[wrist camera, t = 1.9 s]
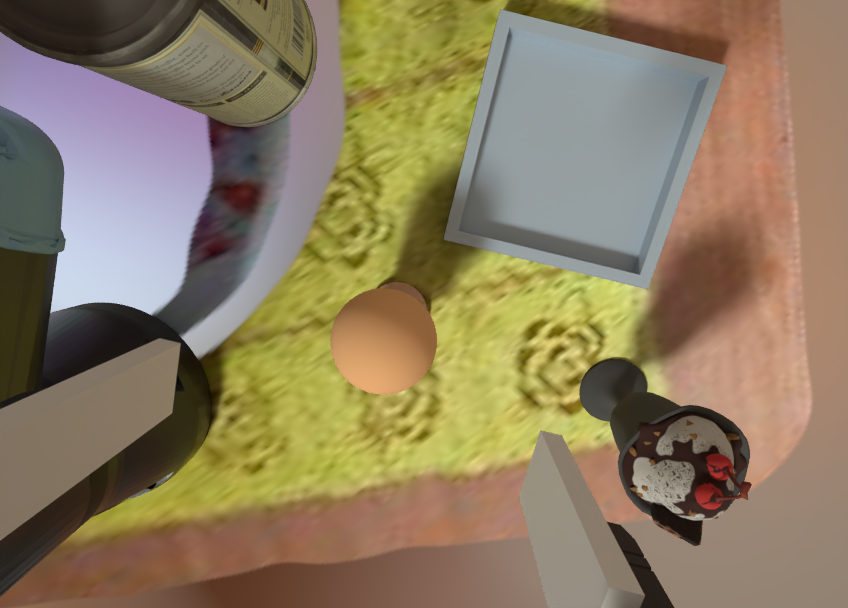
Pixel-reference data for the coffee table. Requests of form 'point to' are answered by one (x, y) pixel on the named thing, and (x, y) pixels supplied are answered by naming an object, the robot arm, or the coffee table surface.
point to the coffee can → (181, 49)
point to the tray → (580, 148)
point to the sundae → (668, 450)
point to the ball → (383, 341)
